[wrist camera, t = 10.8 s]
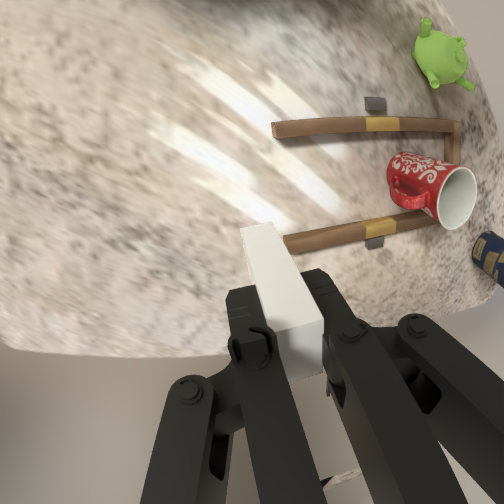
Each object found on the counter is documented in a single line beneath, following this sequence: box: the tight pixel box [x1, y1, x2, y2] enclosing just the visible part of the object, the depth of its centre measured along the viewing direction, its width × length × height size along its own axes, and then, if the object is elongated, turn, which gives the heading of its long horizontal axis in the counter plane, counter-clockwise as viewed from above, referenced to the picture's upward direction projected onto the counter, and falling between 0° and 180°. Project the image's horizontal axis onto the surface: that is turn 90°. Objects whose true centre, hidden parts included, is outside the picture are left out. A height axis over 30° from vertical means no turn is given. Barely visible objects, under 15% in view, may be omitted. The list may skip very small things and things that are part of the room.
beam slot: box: [271, 97, 461, 255], centre depth 41 cm, size 25×34×2 cm
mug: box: [387, 152, 477, 230], centre depth 36 cm, size 13×9×14 cm
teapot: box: [411, 18, 475, 93], centre depth 29 cm, size 11×12×8 cm
